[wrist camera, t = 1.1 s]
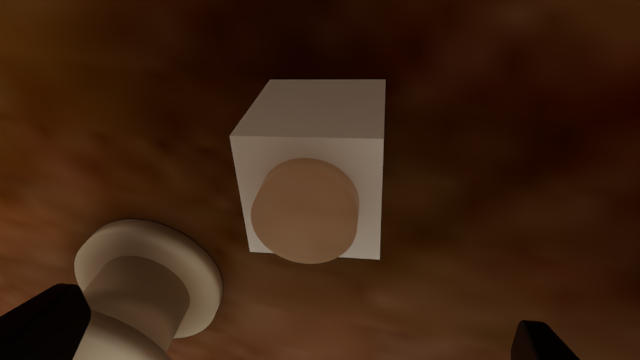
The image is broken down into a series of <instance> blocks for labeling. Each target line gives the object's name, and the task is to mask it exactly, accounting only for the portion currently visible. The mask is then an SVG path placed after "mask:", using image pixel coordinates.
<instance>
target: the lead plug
mask: <svg viewBox="0 0 640 360" xmlns="http://www.w3.org/2000/svg"><path fill="white" fill-rule="evenodd" d="M385 85H386V79H355V80H269V82H268V83H267V84H266V86H265V87H264V89H263V90H262V91H261V93H260V94H259V95H258V97H257V98H256V100H255V101H254V102H253V104H252V105H251V107H250V108H249V109H248V111H247V112H246V113H245V115H244V116H243V118H242V119H241V120H240V122H239V123H238V125H237V126H236V127H235V129H234V130H233V132H232V133H231V134H230V136H229V137H230V142H231V148H232V153H233V159H234V165H235V170H236V176H237V181H238V187H239V193H240V198H241V204H242V209H243V215H244V221H245V226H246V232H247V238H248V243H249V249H250V252H263V253H275V254H277V255H278V256H280V257H282V258H285V259H287V260H290V261H293V262H298V263H305V264H317V263H323V262H327V261H331V260H333V259H335V258H337V257H346V258H362V259H379V260H380V233H381V205H382V177H383V149H384V118H385Z"/></svg>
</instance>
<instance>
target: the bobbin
mask: <svg viewBox="0 0 640 360" xmlns="http://www.w3.org/2000/svg"><path fill="white" fill-rule="evenodd" d="M74 270H75V275H76V279H77V282H78V284H79V286H80V288H81V290H82V291H83V294H84V296H85V298H86V300H87V302H88V304H89V306H90V309H91V320H90V323H89V325H88V327H87V329H86V331H85V334H84V336H83V338H82V340H81V342H80V345H79V347H78V349H77V351H76V354H75V356H74V358H73V360H171V359H170V358H169V356H168V355H167V354H166V351H167V349H168V348H169V346H170V344H171V342H172V340H173V338H183V337H188V336H192V335H194V334H197V333H199V332H201V331H202V330H204V329H205V328H206V327H207V326H208V325H209V324H210V323H211V322H212V320H213V318H214V316H215V314H216V311H217V309H218V307H219V304H220V302H221V300H222V296H223V281H222V277H221V274H220V272H219V270H218V268H217V266H216V264H215V263H214V261H213V260H212V258H211V257H210V256H209V255H208V254H207V252H206V251H205V250H203V249H202V248H201V247H200V246H199V245H198V244H197V243H195V242H194V241H193V240H192V239H190V238H189V237H187V236H185V235H184V234H182V233H180V232H178V231H176V230H175V229H172V228H170V227H167V226H165V225H162V224H159V223H156V222H151V221H146V220H138V219H125V220H118V221H114V222H110V223H108V224H106V225H104V226H102V227H101V228H99V229H98V230H97V231H96V232H95V233H94V234H93V235H92V236H91V237H90V238H89V239H88V240H87V241H86V243H85V244H84V245H83V246H82V247H81V248H80V249H79V251H78V253H77V255H76V258H75V263H74Z"/></svg>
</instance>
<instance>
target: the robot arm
mask: <svg viewBox="0 0 640 360" xmlns="http://www.w3.org/2000/svg"><path fill="white" fill-rule="evenodd" d="M90 320H91V309H90V306H89V304H88V302H87V300H86V298H85V296H84V294H83V292H82V290H81V288H80V287H79V286H78V285H75V284H64V283H60V284H56V285H54V286H52V287H51V288H49V289H47V290H45V291H44V292H42V293H40V294H38V295H37V296H35V297H33V298H32V299H30V300H28V301H26V302H25V303H23V304H21V305H19V306H18V307H16V308H14V309H13V310H11V311H9V312H7V313H6V314H4V315H2V316H0V360H73V358H74V356H75V354H76V351H77V349H78V347H79V345H80V342H81V340H82V338H83V336H84V334H85V331H86V329H87V327H88V325H89V323H90ZM511 360H580V359H579V358H578V357H577V356H576V355H575V354H574V353H573V352H572V351H571V350H570V349H569V348H568V346H567V345H566V344H565V343H564V342H563V341H562V340H561V339H560V338H559V337H558V336H557V335H556V333H555V332H554V331H553V330H552V329H551V328H550V327H549V326H548V325H547V324H545V323H544V322H540V321H528V320H523V321H521V322H520V323H519V324H518V327H517V331H516V334H515V337H514V341H513V344H512V348H511Z"/></svg>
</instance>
